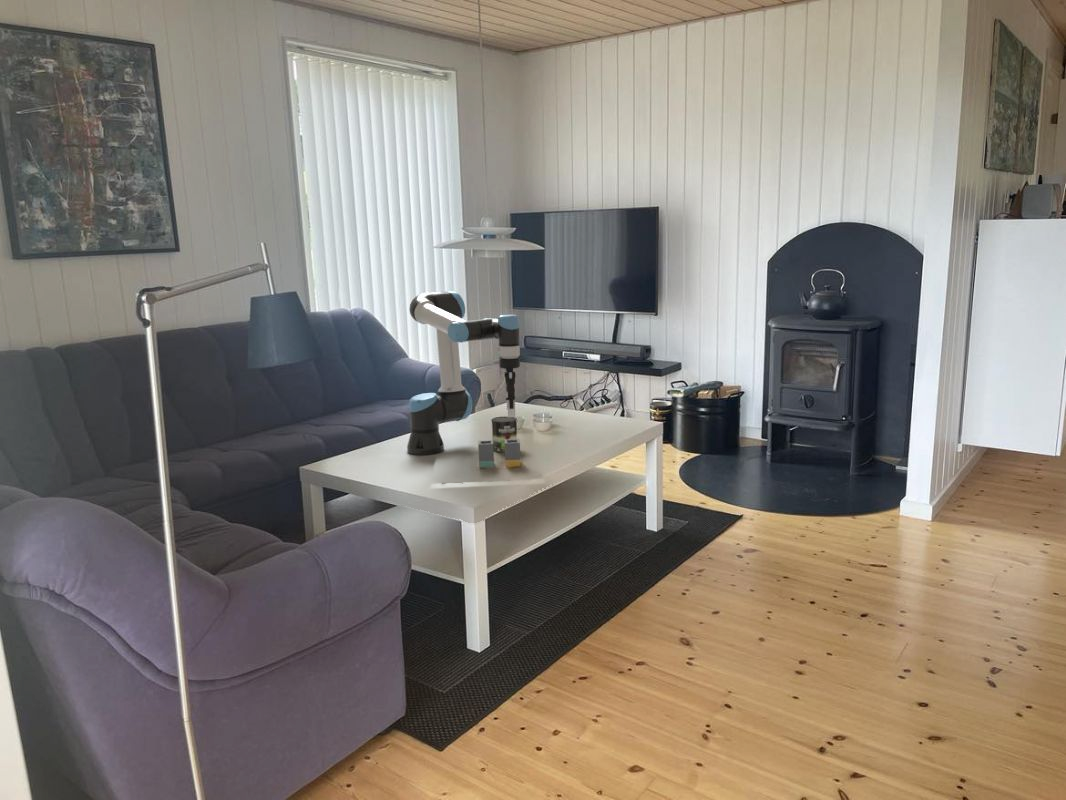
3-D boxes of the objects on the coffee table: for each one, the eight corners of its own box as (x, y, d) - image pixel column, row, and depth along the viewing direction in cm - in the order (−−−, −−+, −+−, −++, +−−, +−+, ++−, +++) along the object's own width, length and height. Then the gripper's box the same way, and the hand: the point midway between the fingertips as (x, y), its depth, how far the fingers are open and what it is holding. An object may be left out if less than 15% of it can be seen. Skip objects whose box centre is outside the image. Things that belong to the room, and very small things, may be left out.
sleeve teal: (479, 467, 306) (478, 444, 304) (479, 463, 311) (478, 440, 309) (494, 467, 306) (493, 443, 304) (493, 463, 311) (493, 440, 310)
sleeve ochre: (505, 462, 312) (504, 439, 310) (519, 462, 312) (519, 439, 310) (505, 466, 306) (504, 443, 304) (520, 466, 306) (519, 442, 305)
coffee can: (520, 454, 329) (519, 420, 326) (495, 457, 326) (494, 422, 323) (514, 448, 338) (513, 415, 336) (490, 450, 336) (488, 417, 333)
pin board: (476, 473, 304) (475, 451, 302) (476, 466, 313) (475, 444, 312) (524, 471, 305) (523, 449, 303) (523, 464, 314) (522, 442, 313)
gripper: (498, 352, 313) (500, 406, 317) (500, 362, 289) (501, 420, 293) (518, 351, 313) (519, 405, 318) (521, 361, 289) (522, 420, 293)
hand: (511, 413), depth 305 cm, fingers open, 13 cm apart
